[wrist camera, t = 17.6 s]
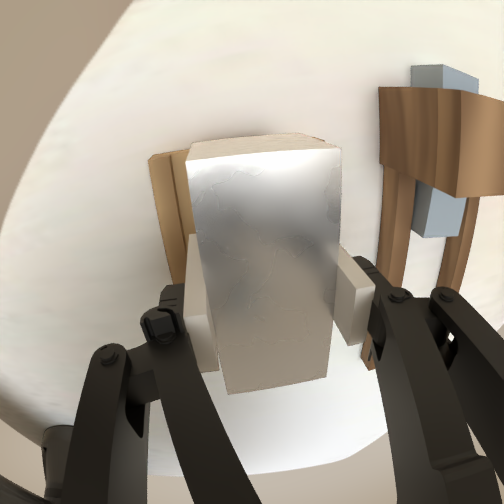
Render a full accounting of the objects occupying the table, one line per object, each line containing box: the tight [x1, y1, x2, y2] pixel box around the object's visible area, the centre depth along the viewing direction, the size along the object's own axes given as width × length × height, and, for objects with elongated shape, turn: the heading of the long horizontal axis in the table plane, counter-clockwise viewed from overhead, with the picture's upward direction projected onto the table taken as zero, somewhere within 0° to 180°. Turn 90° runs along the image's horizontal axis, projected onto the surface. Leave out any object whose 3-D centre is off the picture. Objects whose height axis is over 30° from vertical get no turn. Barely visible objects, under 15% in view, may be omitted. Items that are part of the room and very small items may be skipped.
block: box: [186, 133, 342, 395], centre depth 14 cm, size 11×5×5 cm, turn 5°
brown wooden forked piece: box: [361, 87, 504, 371], centre depth 20 cm, size 10×24×8 cm, turn 5°
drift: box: [411, 64, 479, 238], centre depth 18 cm, size 12×4×4 cm, turn 0°
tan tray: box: [148, 137, 325, 284], centre depth 19 cm, size 10×10×2 cm
